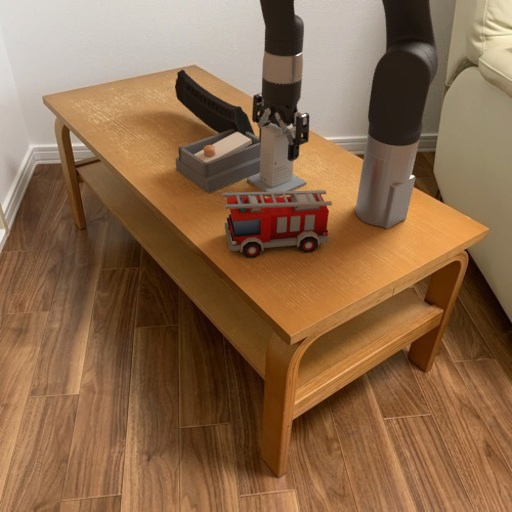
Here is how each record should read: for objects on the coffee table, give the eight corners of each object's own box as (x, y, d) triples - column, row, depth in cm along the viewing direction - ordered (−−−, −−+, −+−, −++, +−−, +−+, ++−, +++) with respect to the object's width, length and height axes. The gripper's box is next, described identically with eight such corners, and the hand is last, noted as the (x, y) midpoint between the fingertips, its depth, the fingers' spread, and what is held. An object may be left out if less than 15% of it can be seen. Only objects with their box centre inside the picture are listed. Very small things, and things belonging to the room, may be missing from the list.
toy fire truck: (221, 231, 104) (220, 186, 98) (317, 223, 107) (322, 178, 101) (228, 261, 98) (227, 214, 91) (330, 251, 100) (336, 205, 94)
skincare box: (271, 188, 115) (274, 135, 108) (258, 179, 118) (259, 127, 111) (293, 179, 118) (297, 127, 111) (280, 170, 121) (283, 119, 114)
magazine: (258, 118, 119) (178, 43, 130) (246, 125, 118) (167, 49, 129) (258, 167, 134) (186, 96, 145) (247, 174, 133) (176, 102, 144)
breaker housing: (236, 148, 130) (236, 124, 127) (270, 168, 123) (271, 143, 120) (176, 170, 122) (174, 145, 118) (208, 193, 115) (207, 167, 111)
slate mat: (306, 184, 118) (306, 181, 118) (274, 198, 114) (275, 196, 113) (278, 167, 123) (278, 165, 123) (247, 180, 119) (247, 178, 118)
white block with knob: (237, 135, 124) (236, 125, 122) (251, 143, 121) (250, 133, 119) (194, 158, 119) (192, 148, 117) (208, 167, 116) (206, 157, 114)
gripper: (323, 81, 102) (315, 159, 112) (272, 59, 110) (269, 134, 120) (293, 90, 98) (288, 171, 108) (242, 67, 106) (242, 144, 116)
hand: (278, 151), depth 114 cm, fingers open, 8 cm apart
